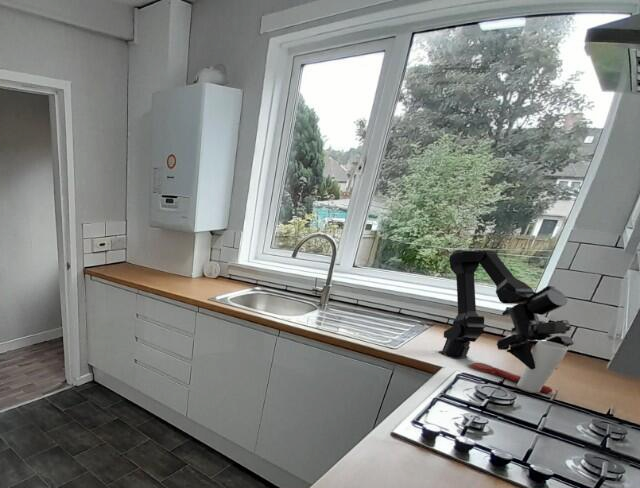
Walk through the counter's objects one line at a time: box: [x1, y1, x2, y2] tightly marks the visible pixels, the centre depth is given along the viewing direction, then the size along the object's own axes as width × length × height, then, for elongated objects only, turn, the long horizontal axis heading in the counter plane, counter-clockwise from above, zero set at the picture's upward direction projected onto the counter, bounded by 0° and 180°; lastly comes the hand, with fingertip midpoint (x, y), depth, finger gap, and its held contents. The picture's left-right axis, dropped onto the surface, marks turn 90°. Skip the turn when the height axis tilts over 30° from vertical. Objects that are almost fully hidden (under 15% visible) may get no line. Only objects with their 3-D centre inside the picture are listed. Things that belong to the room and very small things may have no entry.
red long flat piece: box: [470, 362, 553, 394], centre depth 132 cm, size 22×6×2 cm, turn 17°
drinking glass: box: [516, 340, 569, 394], centre depth 121 cm, size 7×7×15 cm
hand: (543, 369), depth 120 cm, fingers closed on drinking glass, 6 cm apart
